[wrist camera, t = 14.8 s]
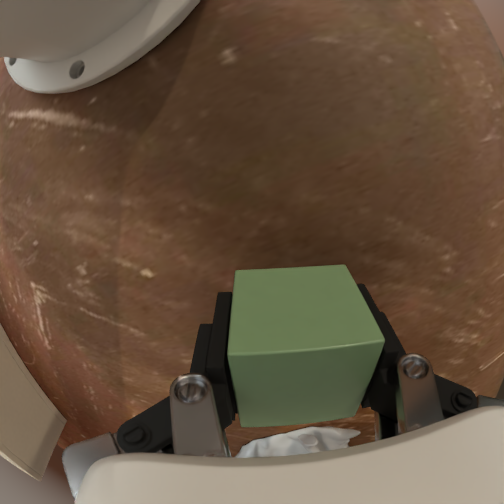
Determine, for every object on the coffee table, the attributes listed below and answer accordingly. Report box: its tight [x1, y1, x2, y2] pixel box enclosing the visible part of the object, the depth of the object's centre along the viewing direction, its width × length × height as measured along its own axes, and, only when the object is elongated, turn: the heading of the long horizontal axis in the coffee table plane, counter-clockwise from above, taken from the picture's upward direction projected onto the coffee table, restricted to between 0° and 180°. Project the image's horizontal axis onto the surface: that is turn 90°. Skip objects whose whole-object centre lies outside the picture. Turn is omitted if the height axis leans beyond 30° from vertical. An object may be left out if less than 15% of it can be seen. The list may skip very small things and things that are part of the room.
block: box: [227, 265, 385, 427], centre depth 10 cm, size 4×4×4 cm
